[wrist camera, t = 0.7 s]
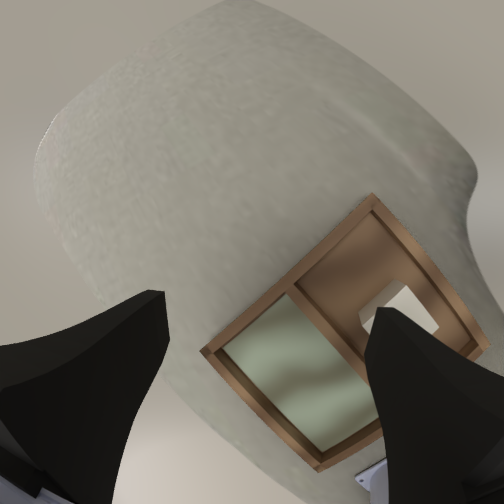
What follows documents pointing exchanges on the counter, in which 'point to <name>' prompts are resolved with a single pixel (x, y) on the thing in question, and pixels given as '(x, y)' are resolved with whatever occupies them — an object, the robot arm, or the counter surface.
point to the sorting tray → (333, 335)
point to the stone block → (398, 307)
